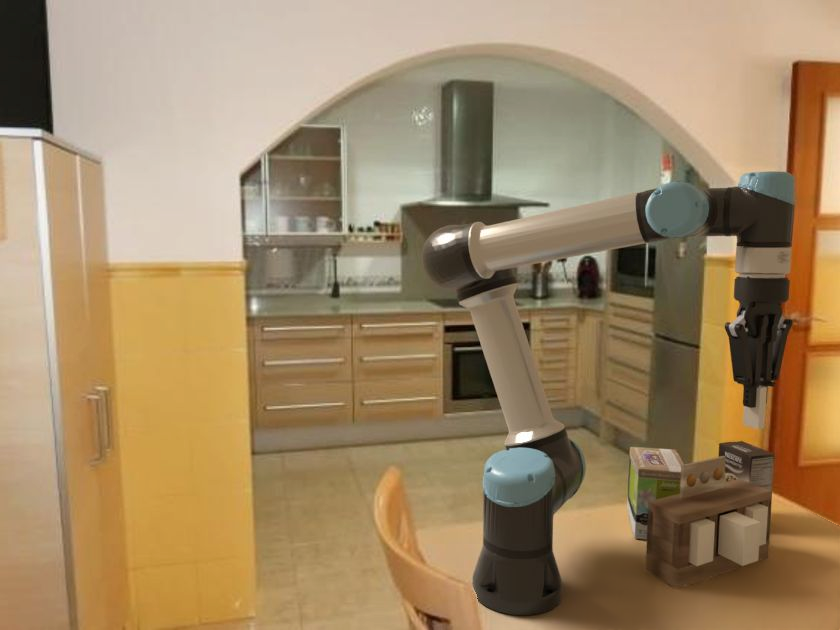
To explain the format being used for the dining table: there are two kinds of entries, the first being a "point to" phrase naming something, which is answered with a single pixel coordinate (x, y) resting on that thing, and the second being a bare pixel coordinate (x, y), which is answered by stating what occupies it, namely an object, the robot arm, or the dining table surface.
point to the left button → (701, 541)
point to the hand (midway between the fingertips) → (753, 426)
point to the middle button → (739, 538)
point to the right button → (758, 518)
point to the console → (697, 500)
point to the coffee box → (747, 463)
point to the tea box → (650, 482)
